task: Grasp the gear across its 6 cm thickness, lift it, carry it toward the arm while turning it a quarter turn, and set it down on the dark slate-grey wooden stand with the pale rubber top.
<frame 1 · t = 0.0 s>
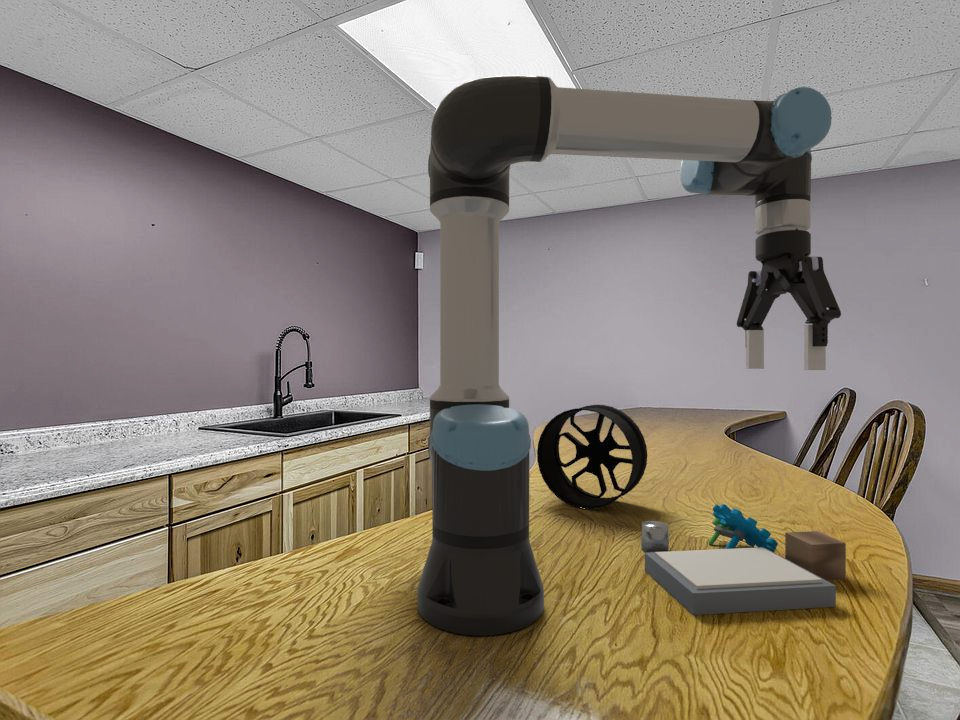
hand: (782, 369, 82), 28 cm above the table, fingers open, 13 cm apart
stand: (732, 587, 68), on the table
gear: (740, 553, 81), on the table
walnut block: (814, 573, 73), on the table
car wheel rim: (591, 504, 108), on the table
steel cylinder: (654, 550, 82), on the table
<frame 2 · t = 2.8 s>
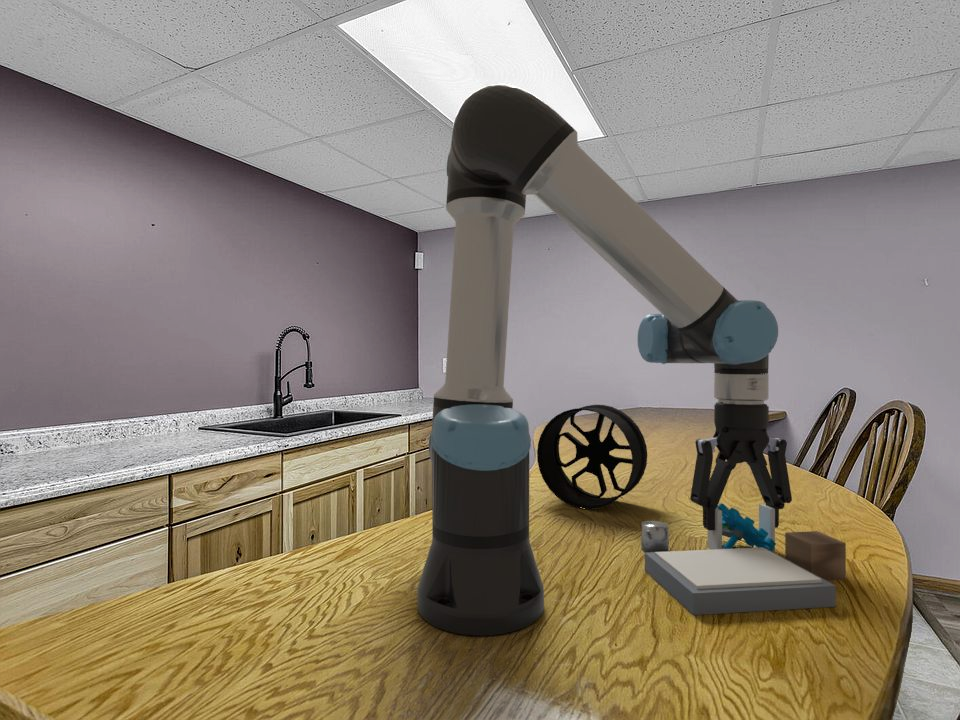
hand: (740, 549, 81), 0 cm above the table, fingers closed on gear, 8 cm apart
gear: (739, 552, 81), on the table, touching gripper
everything else where it was.
when the fingers open (5 cm above the table, at t = 8.4 s): gear drops 1 cm, resting on stand.
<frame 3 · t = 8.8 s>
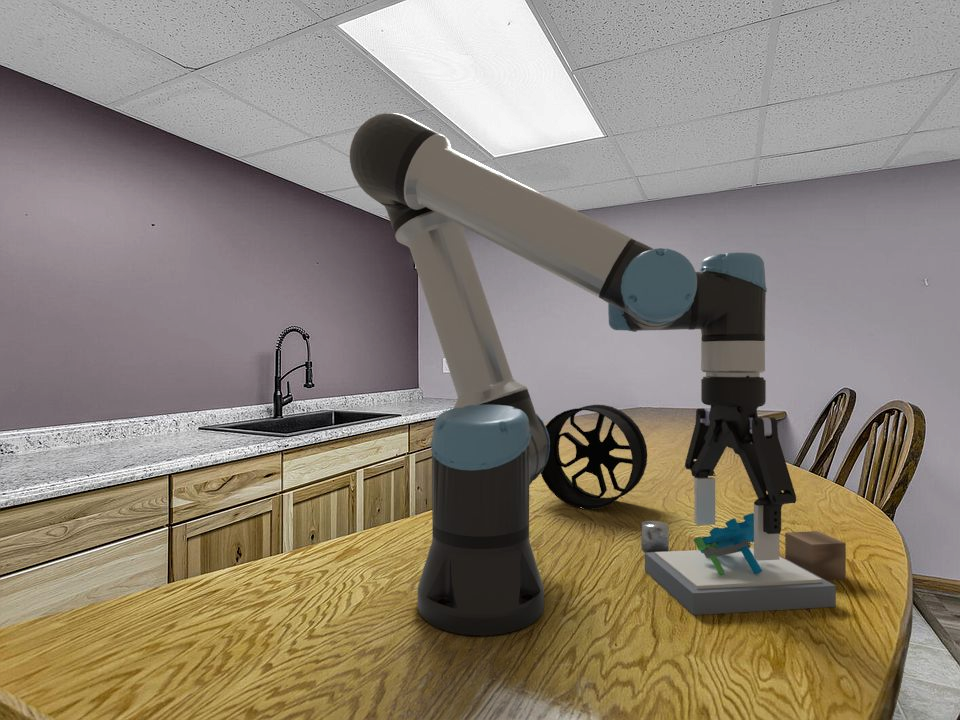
hand: (732, 540, 68), 6 cm above the table, fingers open, 13 cm apart
gear: (733, 566, 68), point 3 cm above the table, touching stand
everything else where it was.
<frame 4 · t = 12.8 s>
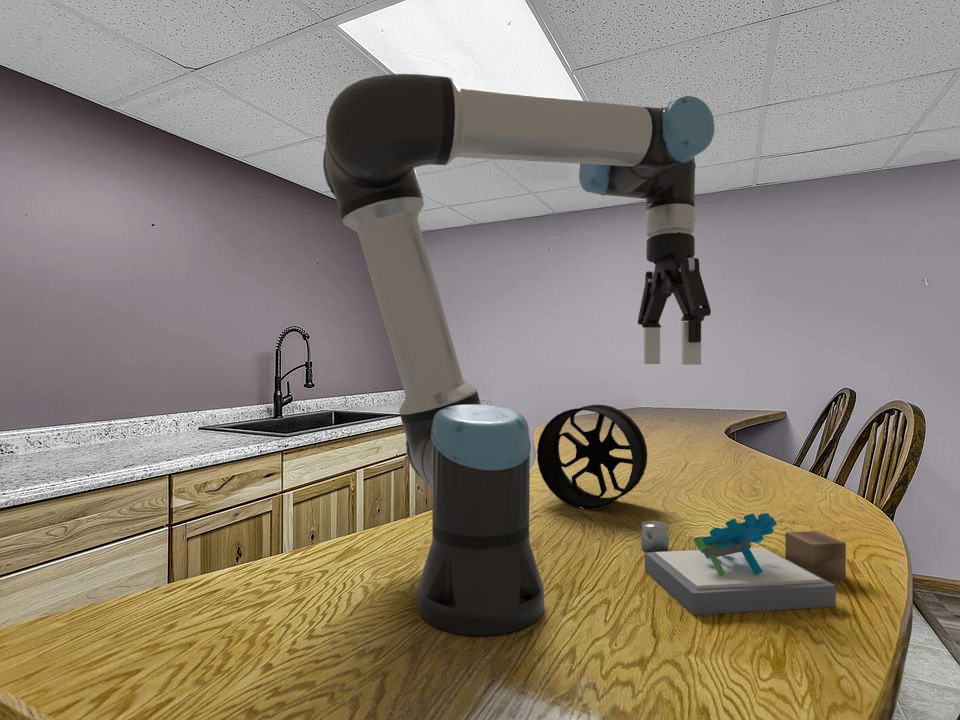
hand: (670, 364, 87), 29 cm above the table, fingers open, 13 cm apart
nothing on the table moved.
at the end: gear inside the target area on the stand (0.3 cm from its centre), point 2.7 cm above the stand's base; gear touching stand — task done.
